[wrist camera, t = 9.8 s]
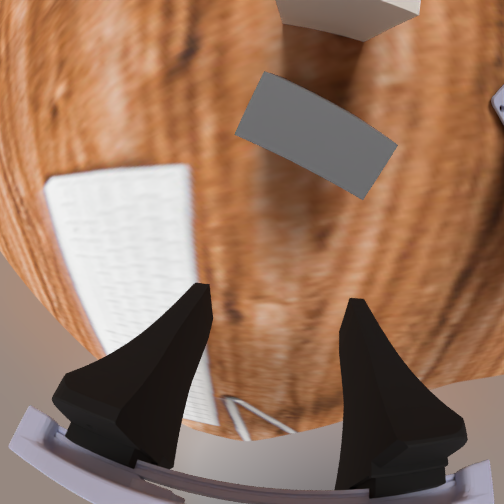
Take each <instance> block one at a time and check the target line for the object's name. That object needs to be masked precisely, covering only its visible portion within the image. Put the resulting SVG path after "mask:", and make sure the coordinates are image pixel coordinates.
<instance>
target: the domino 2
mask: <svg viewBox="0 0 504 504" xmlns="http://www.w3.org/2000/svg"><path fill="white" fill-rule="evenodd" d="M234 135H237V136H239V137H241V138H243V139H246V140H248V141H250V142H252V143H254V144H257V145H259V146H261V147H263V148H265V149H267V150H269V151H271V152H274V153H276V154H278V155H280V156H282V157H284V158H286V159H288V160H290V161H292V162H294V163H296V164H298V165H300V166H302V167H304V168H306V169H307V170H309V171H311V172H313V173H315V174H317V175H319V176H321V177H323V178H324V179H326V180H328V181H330V182H332V183H334V184H335V185H337V186H339V187H341V188H343V189H344V190H346V191H348V192H350V193H351V194H353V195H355V196H356V197H358V198H360V199H362V200H363V199H364V198H365V196H366V195H367V193H368V192H369V190H370V188H371V187H372V185H373V184H374V182H375V181H376V179H377V178H378V176H379V175H380V173H381V171H382V170H383V168H384V167H385V165H386V164H387V162H388V160H389V159H390V157H391V156H392V154H393V152H394V151H395V149H396V148H397V146H398V145H397V144H396V143H394V142H393V141H392V140H390V139H389V138H388V137H386V136H385V135H383V134H382V133H380V132H379V131H378V130H376V129H375V128H373V127H372V126H370V125H369V124H367V123H366V122H364V121H363V120H361V119H360V118H358V117H357V116H355V115H354V114H352V113H350V112H349V111H347V110H345V109H343V108H342V107H340V106H338V105H336V104H334V103H333V102H331V101H329V100H327V99H325V98H323V97H322V96H320V95H318V94H316V93H314V92H312V91H310V90H308V89H306V88H304V87H302V86H300V85H298V84H296V83H294V82H291V81H289V80H287V79H285V78H283V77H281V76H278V75H275V74H271V73H268V72H265V71H264V73H263V75H262V77H261V79H260V81H259V83H258V85H257V87H256V89H255V91H254V93H253V96H252V98H251V100H250V102H249V104H248V106H247V108H246V110H245V112H244V115H243V117H242V119H241V121H240V123H239V126H238V128H237V130H236V132H235V134H234Z"/></svg>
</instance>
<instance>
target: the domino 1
mask: <svg viewBox="0 0 504 504" xmlns="http://www.w3.org/2000/svg"><path fill="white" fill-rule="evenodd" d="M276 3H277V7H278V10H279V13H280V17H281V20H282V23H283V24H288V25H294V26H300V27H305V28H310V29H315V30H320V31H324V32H329V33H333V34H337V35H341V36H345V37H348V38H352V39H355V40H359V41H362V42H365V41H367V40H369V39H371V38H373V37H375V36H377V35H379V34H381V33H382V32H384V31H386V30H388V29H390V28H392V27H395V26H397V25H399V24H401V23H403V22H405V21H407V20H409V19H412V18H414V17H416V16H418V15H419V11H420V3H421V0H276Z"/></svg>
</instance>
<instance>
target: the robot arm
mask: <svg viewBox="0 0 504 504" xmlns="http://www.w3.org/2000/svg"><path fill="white" fill-rule="evenodd" d="M491 103H492V106H493V108H494V109H495V111H496V113H497V114H498V116H499V118H500V120H501V121H502V123H503V125H504V85H503V86H502V87H501V88H500V89H499V90H498V91H497V92H496V94H495V95H494V96H493V97H492V99H491ZM500 106H501V111H500ZM212 321H213V313H212V304H211V294H210V284H202V283H195V284H193V285H192V286H191V287H190V288H189V289H188V291H187V292H186V293H185V294H184V295H183V296H182V297H181V298H180V299H179V300H178V301H177V302H176V303H175V304H174V305H173V306H172V307H171V308H170V309H169V310H168V311H166V312H165V313H164V314H163V315H162V316H161V317H160V318H159V319H158V320H157V321H155V322H154V323H153V324H152V325H151V326H150V327H148V328H147V329H146V330H145V331H144V332H142V333H141V334H140V335H138V336H137V337H136V338H134V339H133V340H131V341H130V342H129V343H127V344H125V345H124V346H122V347H121V348H119V349H117V350H116V351H114V352H113V353H111V354H109V355H107V356H105V357H103V358H102V359H100V360H98V361H96V362H94V363H91V364H89V365H87V366H85V367H82V368H80V369H77V370H74V371H72V372H69V373H66V374H65V376H64V377H63V379H62V381H61V382H60V384H59V386H58V388H57V390H56V391H55V393H54V395H53V397H52V401H53V403H54V405H55V406H56V407H57V408H58V409H59V410H60V411H61V412H62V413H63V414H64V415H65V416H66V417H67V418H68V419H69V420H70V421H71V424H70V426H69V428H68V430H67V429H65V428H63V427H61V426H60V425H58V423H57V422H56V421H55V420H53V419H52V418H51V417H50V416H48V415H47V414H45V413H43V412H42V411H40V410H38V409H36V408H35V407H33V406H31V405H29V407H28V409H27V411H26V412H25V414H24V416H23V418H22V420H21V422H20V424H19V426H18V428H17V430H16V432H15V434H14V436H13V438H12V440H11V442H10V444H9V449H11V450H12V451H13V452H15V453H16V454H17V455H19V456H20V457H21V458H22V459H24V460H25V461H27V462H28V463H29V464H31V465H32V466H33V467H35V468H36V469H38V470H39V471H41V472H42V473H43V474H45V475H46V476H48V477H49V478H51V479H52V480H54V481H56V482H57V483H58V484H60V485H62V486H63V487H65V488H67V489H68V490H70V491H72V492H73V493H75V494H77V495H78V496H80V497H82V498H84V499H86V500H88V501H89V502H91V503H93V504H184V502H185V499H184V498H182V497H180V496H177V495H175V494H174V493H172V491H170V490H168V489H165V488H162V487H159V486H156V485H154V484H151V483H149V482H146V481H145V480H148V481H151V482H154V483H157V484H160V485H164V486H167V487H170V488H174V489H178V490H182V491H185V492H189V493H194V494H198V495H202V496H207V497H212V498H217V499H222V500H228V501H234V502H241V503H248V504H494V495H493V494H494V493H493V484H492V474H491V467H490V460H488V459H487V460H484V461H481V462H478V463H475V464H472V465H469V466H467V467H464V468H462V469H460V470H459V471H457V472H456V473H454V474H450V475H446V476H445V467H446V466H447V465H448V458H447V457H448V456H450V455H451V454H453V453H454V452H456V451H457V450H459V449H460V448H461V447H463V446H464V445H465V443H466V442H467V440H468V439H467V433H466V427H465V423H464V420H463V418H462V417H461V416H459V415H458V414H457V413H455V412H454V411H453V410H451V409H450V408H449V407H447V406H446V405H445V404H444V403H443V402H441V401H440V400H439V399H438V398H437V397H436V396H435V395H434V394H433V393H432V392H430V391H429V390H428V389H427V387H426V386H425V385H424V384H423V383H422V382H421V381H420V380H419V379H418V378H417V377H416V376H415V375H414V374H413V372H412V371H411V370H410V369H409V368H408V366H407V365H406V364H405V363H404V361H403V360H402V359H401V357H400V356H399V355H398V353H397V352H396V350H395V349H394V347H393V346H392V345H391V343H390V342H389V340H388V338H387V337H386V335H385V334H384V332H383V330H382V329H381V327H380V326H379V324H378V322H377V321H376V319H375V317H374V315H373V314H372V312H371V310H370V309H369V307H368V305H367V303H366V302H365V300H364V299H357V298H349V302H348V305H347V308H346V312H345V315H344V318H343V321H342V325H341V328H340V331H339V356H340V366H341V376H342V386H343V399H344V413H343V431H342V444H341V453H340V462H339V468H338V474H337V480H336V485H335V490H327V491H326V490H325V491H317V490H315V491H313V490H288V489H273V488H264V487H254V486H246V485H240V484H233V483H227V482H222V481H216V480H211V479H206V478H202V477H197V476H193V475H188V474H185V473H181V472H177V471H173V470H170V469H171V468H173V467H174V460H175V454H176V448H177V442H178V437H179V432H180V427H181V422H182V418H183V413H184V409H185V405H186V401H187V397H188V393H189V389H190V386H191V383H192V380H193V378H194V375H195V372H196V370H197V367H198V364H199V362H200V359H201V357H202V354H203V351H204V349H205V346H206V344H207V341H208V338H209V334H210V330H211V326H212ZM144 479H145V480H144Z"/></svg>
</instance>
